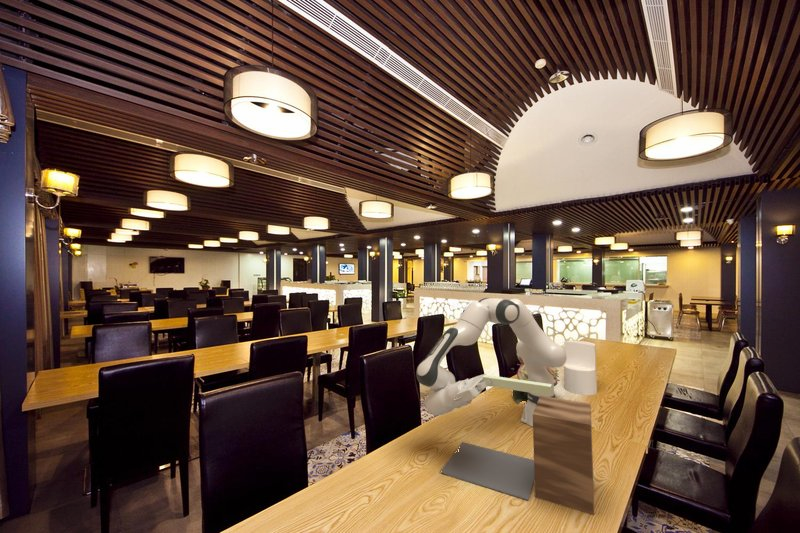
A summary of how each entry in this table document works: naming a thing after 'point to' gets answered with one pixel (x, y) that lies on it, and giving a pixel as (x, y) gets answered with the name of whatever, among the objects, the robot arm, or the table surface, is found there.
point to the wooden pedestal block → (563, 453)
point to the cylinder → (580, 367)
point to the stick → (519, 385)
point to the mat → (492, 470)
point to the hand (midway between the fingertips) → (492, 379)
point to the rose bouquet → (523, 375)
